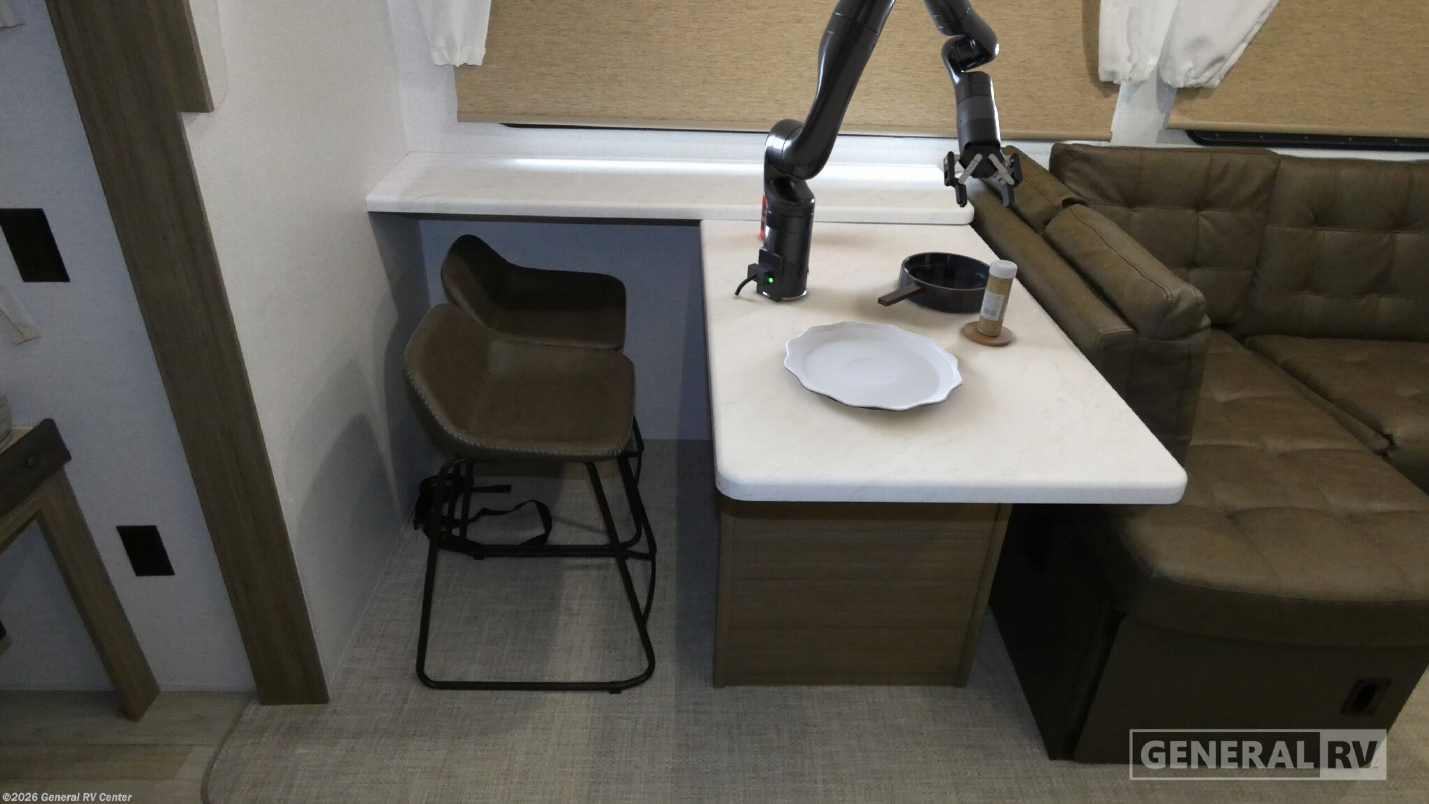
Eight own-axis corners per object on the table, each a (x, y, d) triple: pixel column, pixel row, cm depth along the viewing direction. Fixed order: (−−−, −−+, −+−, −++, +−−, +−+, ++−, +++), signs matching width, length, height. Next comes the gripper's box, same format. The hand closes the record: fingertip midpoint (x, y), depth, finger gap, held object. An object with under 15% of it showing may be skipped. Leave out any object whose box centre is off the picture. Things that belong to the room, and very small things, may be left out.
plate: (754, 347, 147) (755, 335, 146) (894, 323, 157) (896, 311, 156) (839, 436, 125) (841, 423, 123) (996, 401, 135) (999, 388, 134)
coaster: (994, 350, 150) (995, 348, 149) (953, 332, 155) (953, 329, 155) (1022, 336, 155) (1022, 334, 155) (980, 319, 160) (981, 316, 160)
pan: (956, 322, 159) (962, 298, 156) (878, 288, 171) (882, 265, 168) (1012, 297, 170) (1018, 274, 167) (935, 266, 182) (939, 245, 179)
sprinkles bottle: (1006, 333, 154) (1023, 265, 147) (989, 339, 152) (1006, 270, 145) (986, 323, 158) (1002, 257, 150) (970, 329, 155) (985, 261, 148)
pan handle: (913, 288, 164) (914, 283, 163) (922, 292, 162) (923, 287, 161) (877, 303, 157) (878, 297, 157) (886, 307, 156) (887, 301, 155)
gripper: (948, 115, 154) (956, 196, 150) (1022, 117, 155) (1032, 197, 151) (934, 136, 161) (941, 214, 157) (1005, 138, 162) (1014, 215, 159)
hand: (986, 206), depth 154 cm, fingers open, 8 cm apart
